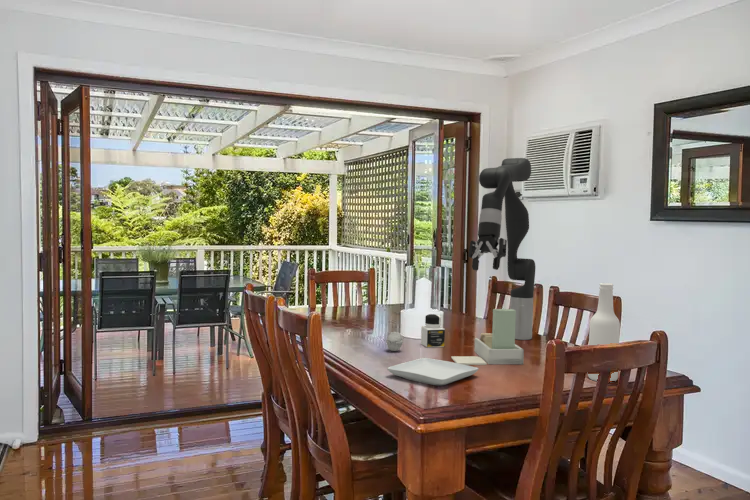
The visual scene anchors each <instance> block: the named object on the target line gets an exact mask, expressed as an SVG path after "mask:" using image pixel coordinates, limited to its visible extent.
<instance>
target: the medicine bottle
mask: <svg viewBox="0 0 750 500" xmlns="http://www.w3.org/2000/svg"><path fill="white" fill-rule="evenodd" d="M424 318H425V319H424V320H425V321H424V322H425V325H421V326H420V327H421V329H420V330H421V333H420V334H421V335H420V344H421V345H422V346H424V347H426V348H427V349H428V348H429V349H430V348H444V347H445V340H446V339H445V338H446V337H445V336H446V335H445V333H446V329H445V328H443V326H442V316H441V315H439V314H434V313H433V314H432V313H430V314H427V315H425V317H424Z"/></svg>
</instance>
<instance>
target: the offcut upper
mask: <svg viewBox="0 0 750 500" xmlns="http://www.w3.org/2000/svg"><path fill="white" fill-rule="evenodd" d="M479 338H480V339H479V340H481V341H483V342H484V343H492V332H491V333H490V332H489V333H488V332H485V333H482V332H481V333H480V337H479Z"/></svg>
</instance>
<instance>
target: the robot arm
mask: <svg viewBox="0 0 750 500" xmlns="http://www.w3.org/2000/svg"><path fill="white" fill-rule="evenodd" d="M531 175H532V165H531V162H530V160H529V159H528V158H526V157H515V158H512V157H511V158H510V157H509V158H505V159H503V160H502V162H501V165H500V166H498V167H489V168H488V167H487V168H484V169H483V170H481V172H480V173H479V176H478V181H479V185H480V186H481V187H482V188H483V189H492V190H493V189H495V190H494V191H490V192H489V193H485V194H484V195H483V196H482V199H481V206H480V207H481V208H480V213H479V219H478V220H479V221H478V228H477V236H478V240H477V241H476V240H475V241H474V240H470V242H469V248H468V255H467V256H468V258H471V259H472V265H471V269H472V270H473V271H477V272H478V271H479V266H480V258H481V256H484V254H489V253H490V254H492V256H493V261H492V262H493V263H492V269H493V270H495V271H497V270H499V268H500V264H501V259H502V258H506V256H507V262H506V263H507V267H506V268H507V277H508V278H509V279H510V280H512V281H521V282H524V284H523V285H521V286H520V287H516V288H513V289H511V290H510V306H509V309H513V310H515V311H516V322H515V340H519V341H523V340H526V341H527V340H532V339H533V317H534V315H533V313H534V291H535V280H536V277H535V276H536V262H535V260H534V259H532V258H522V257H521V258H518V251H519V247H520V246H521V243H522V242H523V241H524V239H525V237H526V236H527V234H528V232H529V230H530V217H529V211H528V209H527V207H526V206H525V204H524V203H523V201H522V200H521V199H520V198H519V196H518V194H517V193H516V191H515V188H514V184H513V183H514V182H517V183H518V182H519V183H520V182H526V181H528V180H529V179H530V177H531ZM503 201H504V209H505V210H504V212H505V213H504V214H505V215H504V216H505V230H506V239H505V238H502V237H500V236H501V230H502V229H501V228H502V219H503V218H502V211H503Z"/></svg>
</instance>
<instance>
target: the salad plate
mask: <svg viewBox="0 0 750 500" xmlns="http://www.w3.org/2000/svg"><path fill="white" fill-rule="evenodd" d="M386 369H387V371H388V372H389V373H391V374H392V375H394V376H397V377H400V378H403V379H406V380H410V381H413V382H414V381H415V382H418V383H423V384H427V385H432V386H445V385H448V384H451V383H454V382H457V381H459V380H463V379H465V378H467V377H470V376H472V375H474V374H476V373H477V372H478V371H479V369H480V368H479V367H476V366H473V365H463V364H459V363H455V362H453V361H448V360H441V359H436V358H435V359H434V358H429V357H421V358H417V359H414V360H409V361H406V362H402V363H397V364H395V365H391V366H388V367H387V368H386Z"/></svg>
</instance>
